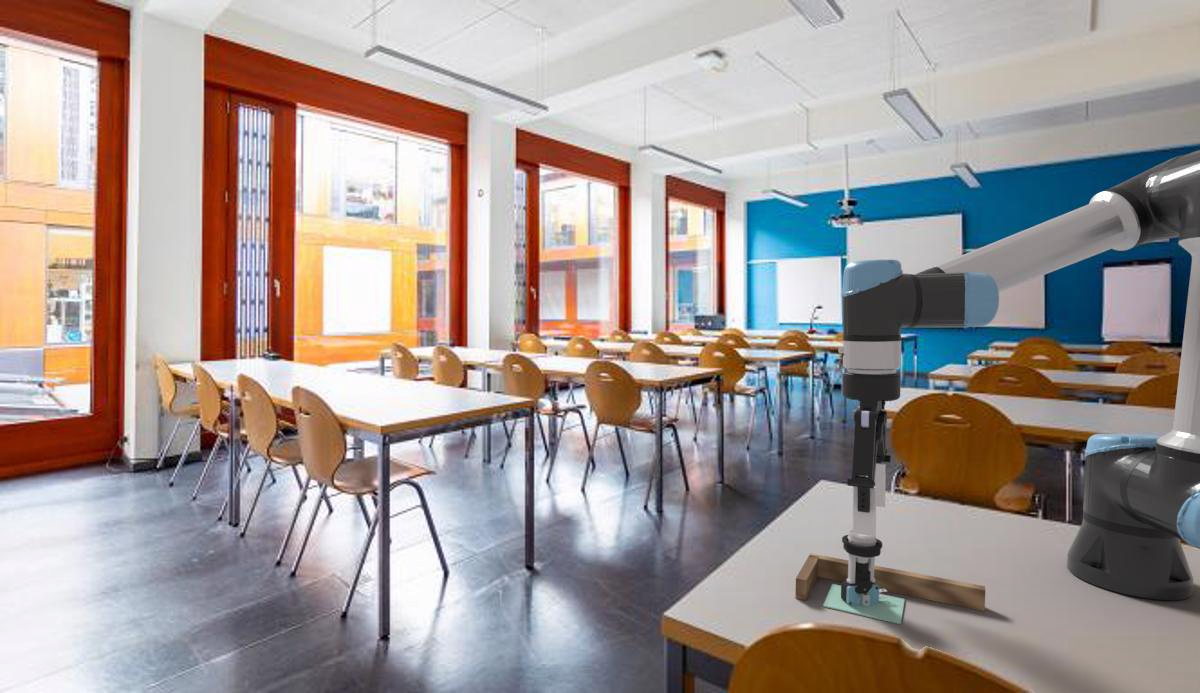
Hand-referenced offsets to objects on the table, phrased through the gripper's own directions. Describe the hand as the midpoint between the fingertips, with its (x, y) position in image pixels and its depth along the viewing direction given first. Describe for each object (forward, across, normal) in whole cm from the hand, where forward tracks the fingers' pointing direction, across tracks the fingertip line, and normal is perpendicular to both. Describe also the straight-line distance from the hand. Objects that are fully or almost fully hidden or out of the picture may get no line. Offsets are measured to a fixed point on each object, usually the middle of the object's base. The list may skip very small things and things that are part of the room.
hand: (870, 519), depth 89 cm
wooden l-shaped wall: (+12, -2, +2) cm, 13 cm away
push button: (+12, 0, -1) cm, 12 cm away
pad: (+12, 0, -1) cm, 12 cm away
